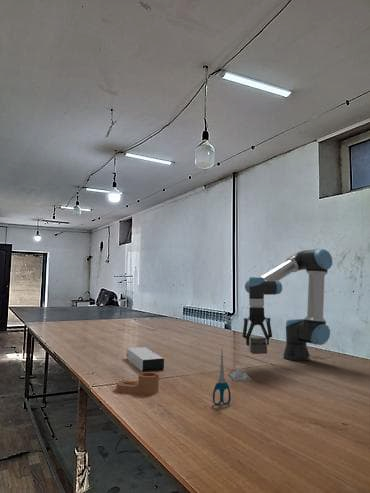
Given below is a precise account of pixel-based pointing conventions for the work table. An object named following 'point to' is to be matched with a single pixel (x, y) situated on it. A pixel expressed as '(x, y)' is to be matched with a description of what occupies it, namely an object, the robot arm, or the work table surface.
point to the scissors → (221, 385)
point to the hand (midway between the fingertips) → (257, 351)
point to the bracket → (140, 384)
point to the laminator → (145, 359)
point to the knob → (258, 345)
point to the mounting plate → (239, 375)
